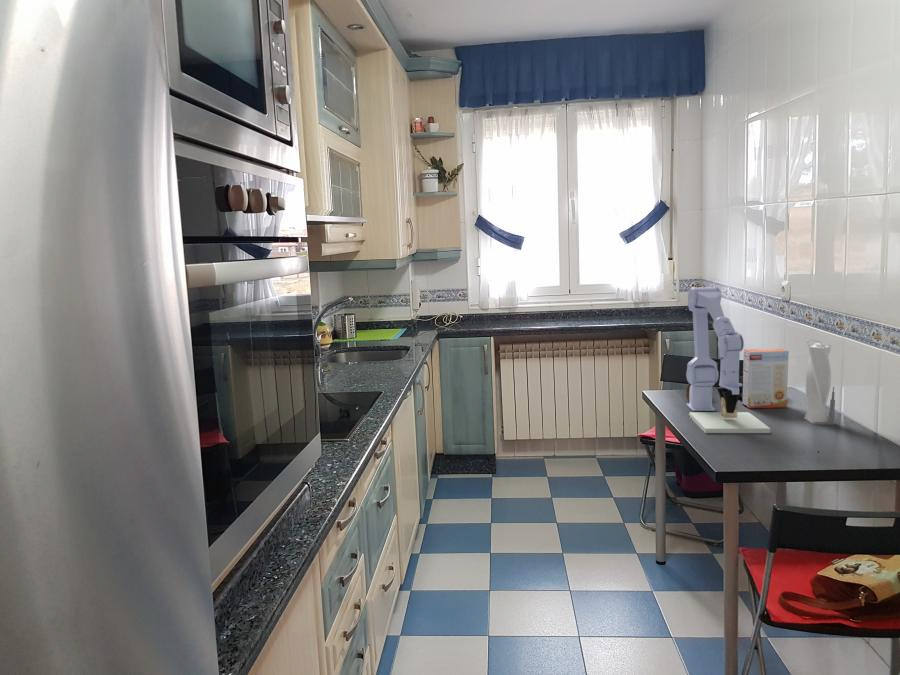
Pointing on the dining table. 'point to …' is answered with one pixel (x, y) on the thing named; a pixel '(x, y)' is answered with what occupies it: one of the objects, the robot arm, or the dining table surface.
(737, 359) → the robot arm
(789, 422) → the dining table surface
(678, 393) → the dining table surface
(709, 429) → the board
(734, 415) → the pine block
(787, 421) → the dining table surface
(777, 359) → the cracker box
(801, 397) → the dining table surface
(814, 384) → the skyscraper
